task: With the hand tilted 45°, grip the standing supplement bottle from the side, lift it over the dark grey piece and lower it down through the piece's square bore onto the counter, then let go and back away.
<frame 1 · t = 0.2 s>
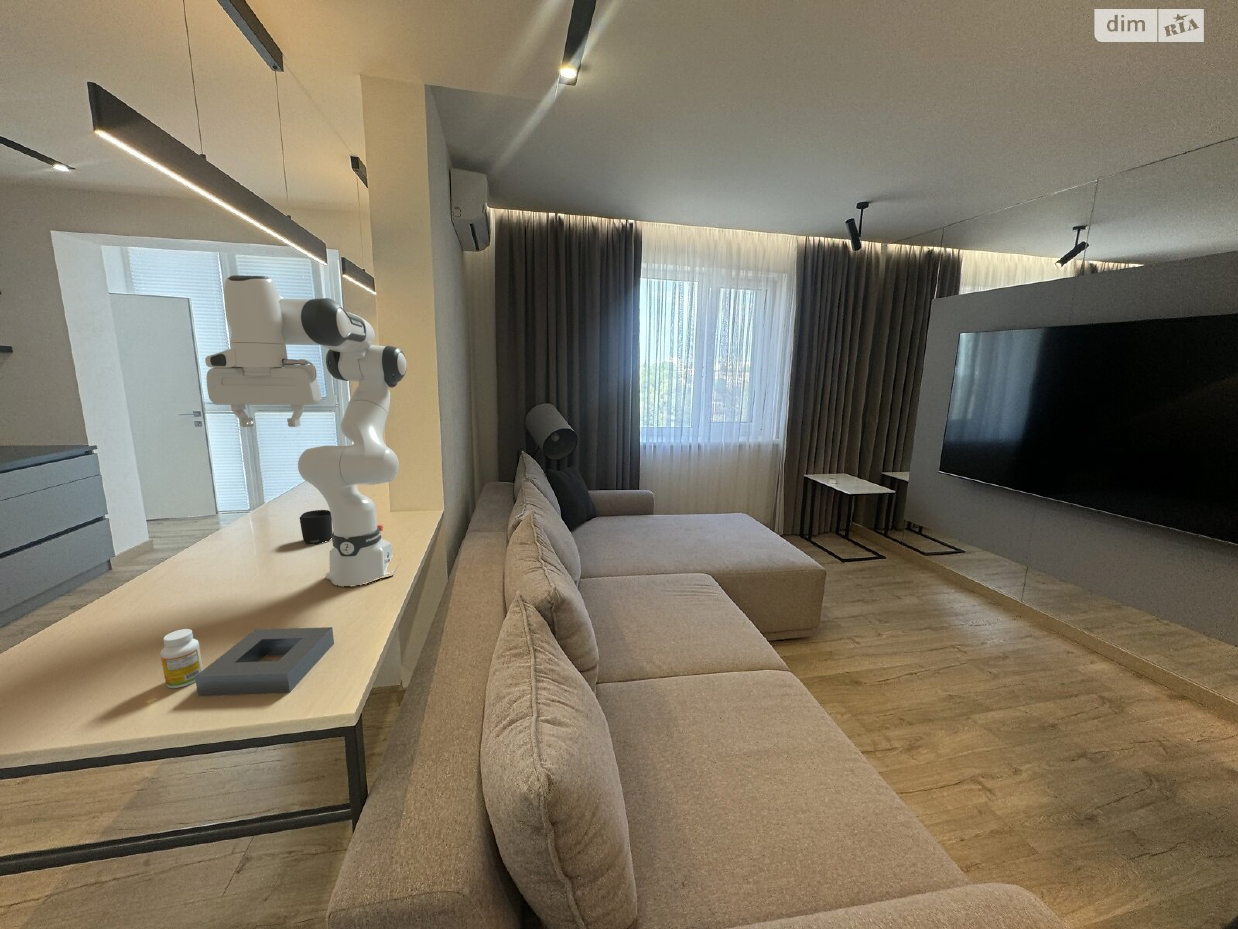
hand: (270, 426, 96), 48 cm above the table, tool pointing down, fingers open, 8 cm apart
supplement bottle: (185, 680, 89), on the table
dark grey piece: (272, 667, 93), on the table
pen holder: (318, 541, 163), on the table
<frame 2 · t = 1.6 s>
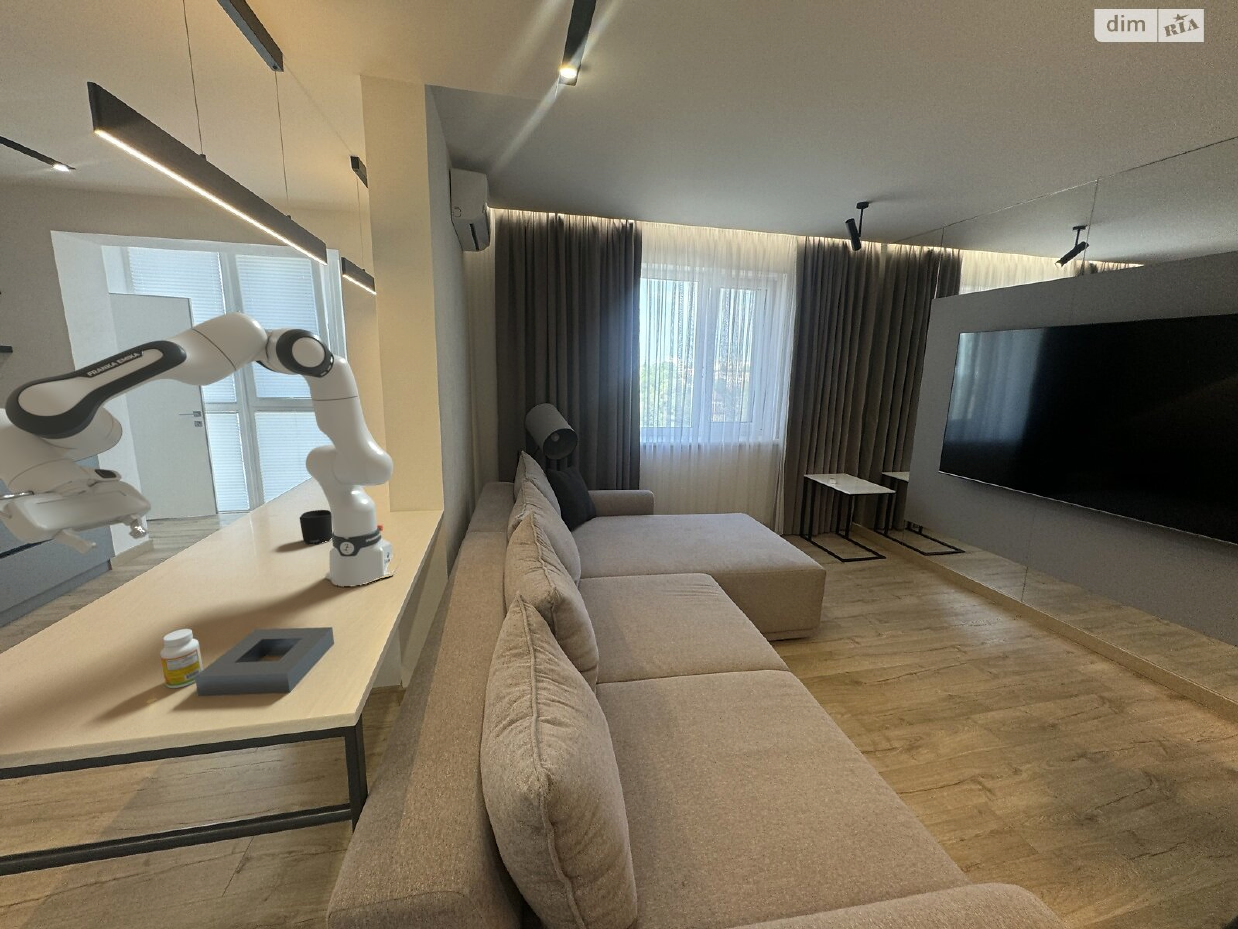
hand: (118, 542, 84), 28 cm above the table, tool tilted 45°, fingers open, 8 cm apart
nothing on the table moved.
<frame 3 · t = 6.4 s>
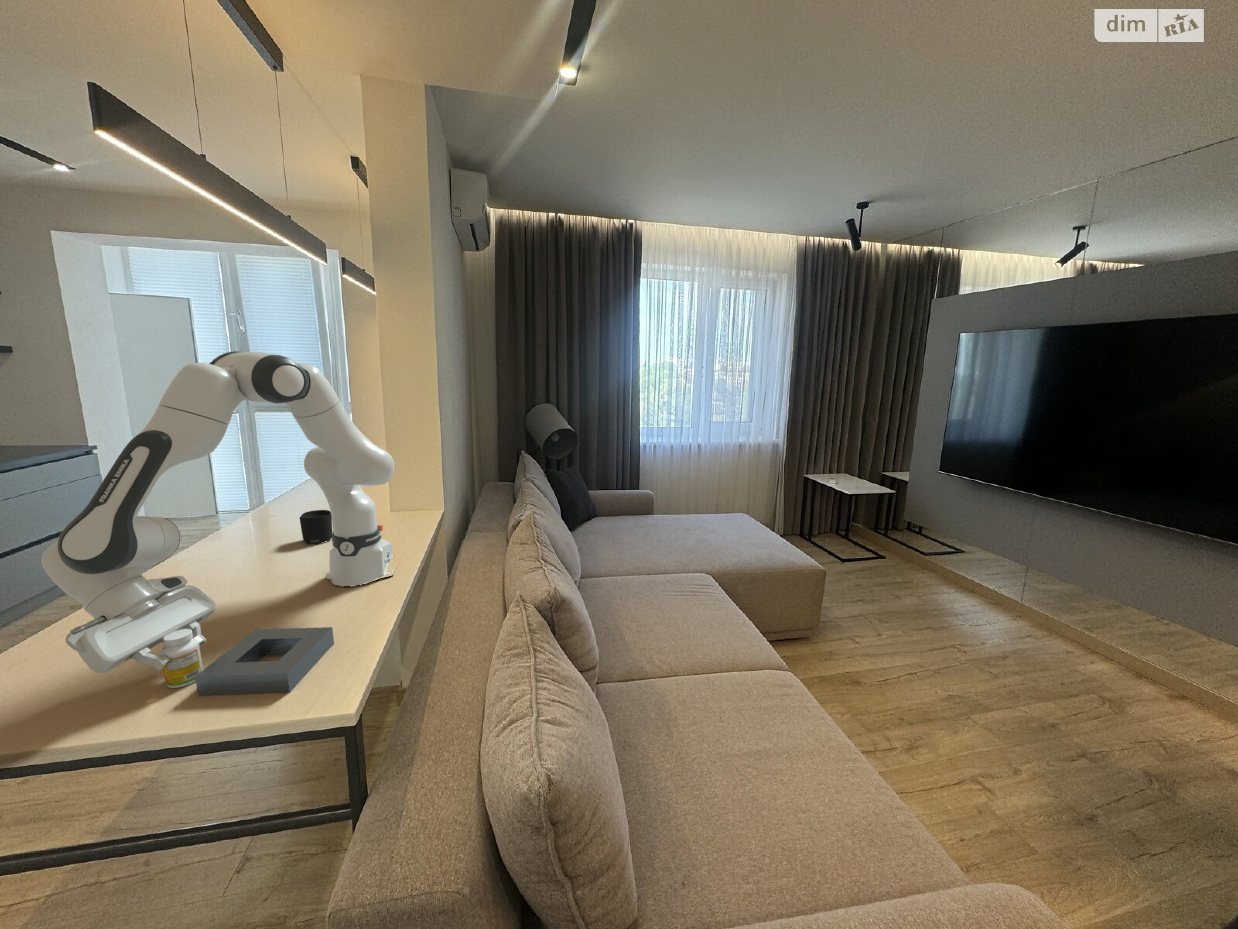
hand: (184, 655, 88), 5 cm above the table, tool tilted 45°, fingers closed on supplement bottle, 5 cm apart
supplement bottle: (185, 680, 89), on the table, touching gripper
everything else where it was.
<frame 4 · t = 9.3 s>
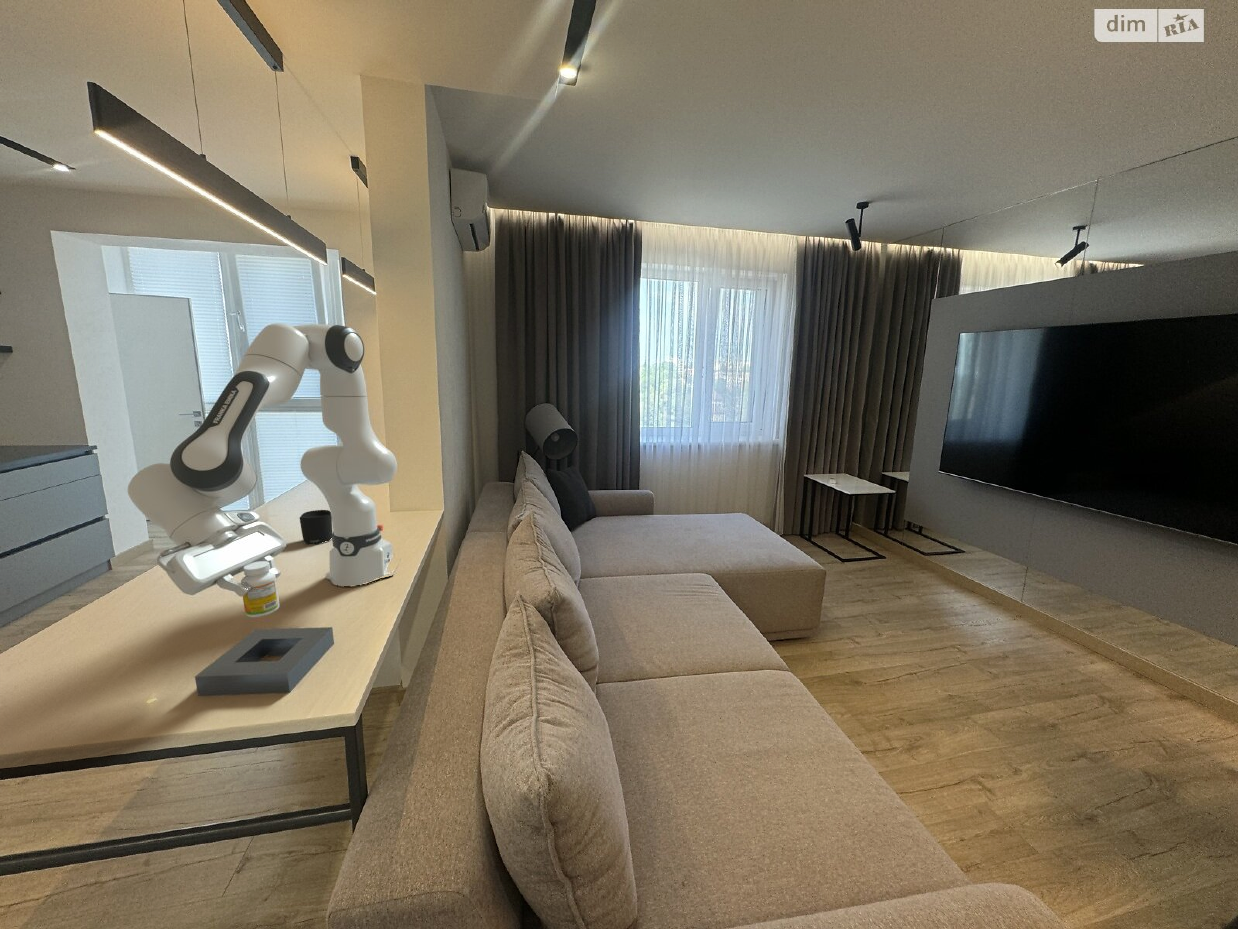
hand: (262, 584, 90), 18 cm above the table, tool tilted 45°, fingers closed on supplement bottle, 5 cm apart
supplement bottle: (263, 611, 91), point 12 cm above the table, touching gripper
everything else where it was.
when the fingers open (7 cm above the table, at t = 12.6 s): supplement bottle drops 1 cm, resting in dark grey piece.
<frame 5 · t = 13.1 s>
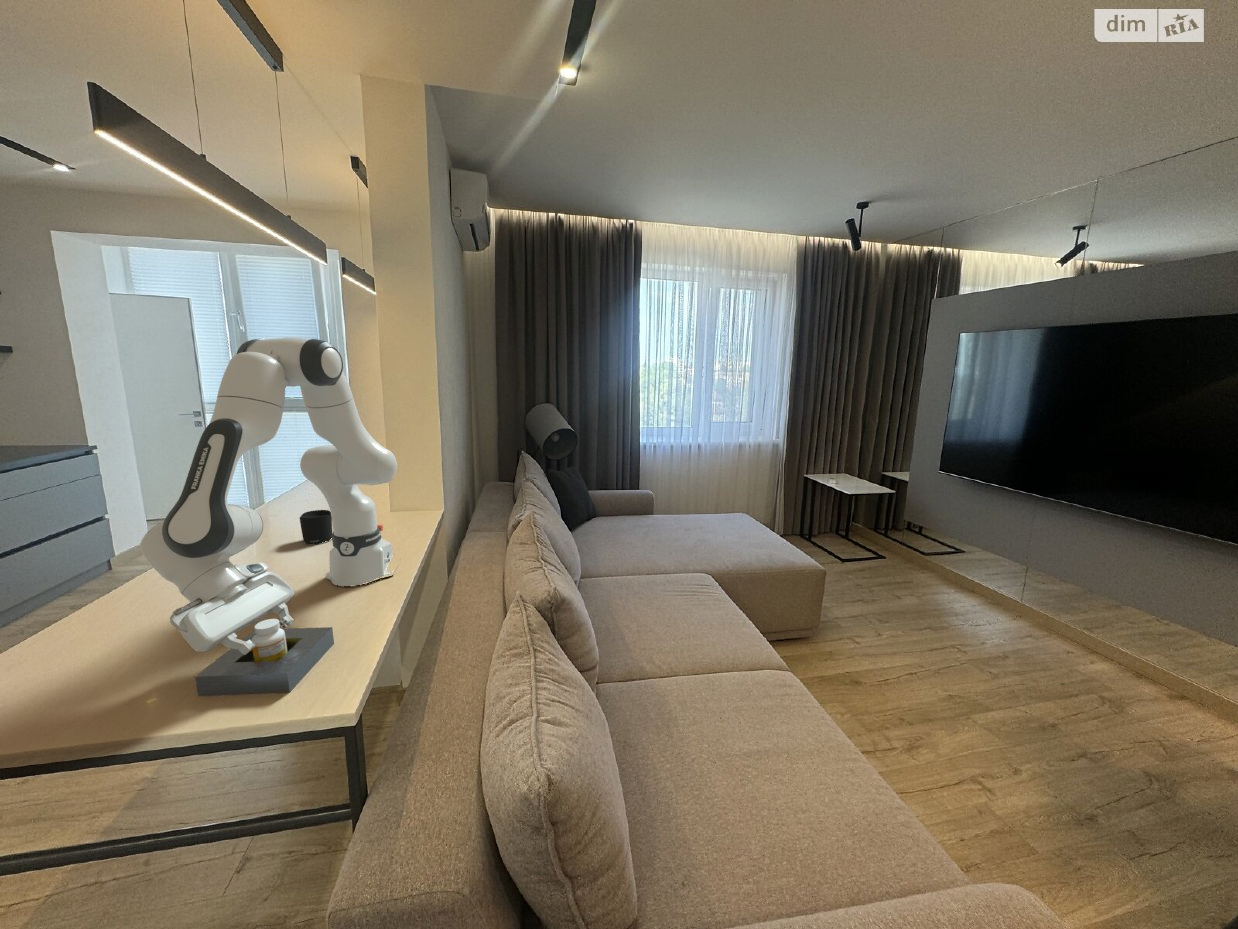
hand: (271, 637, 92), 7 cm above the table, tool tilted 45°, fingers open, 8 cm apart
supplement bottle: (272, 668, 93), resting in dark grey piece
everything else where it was.
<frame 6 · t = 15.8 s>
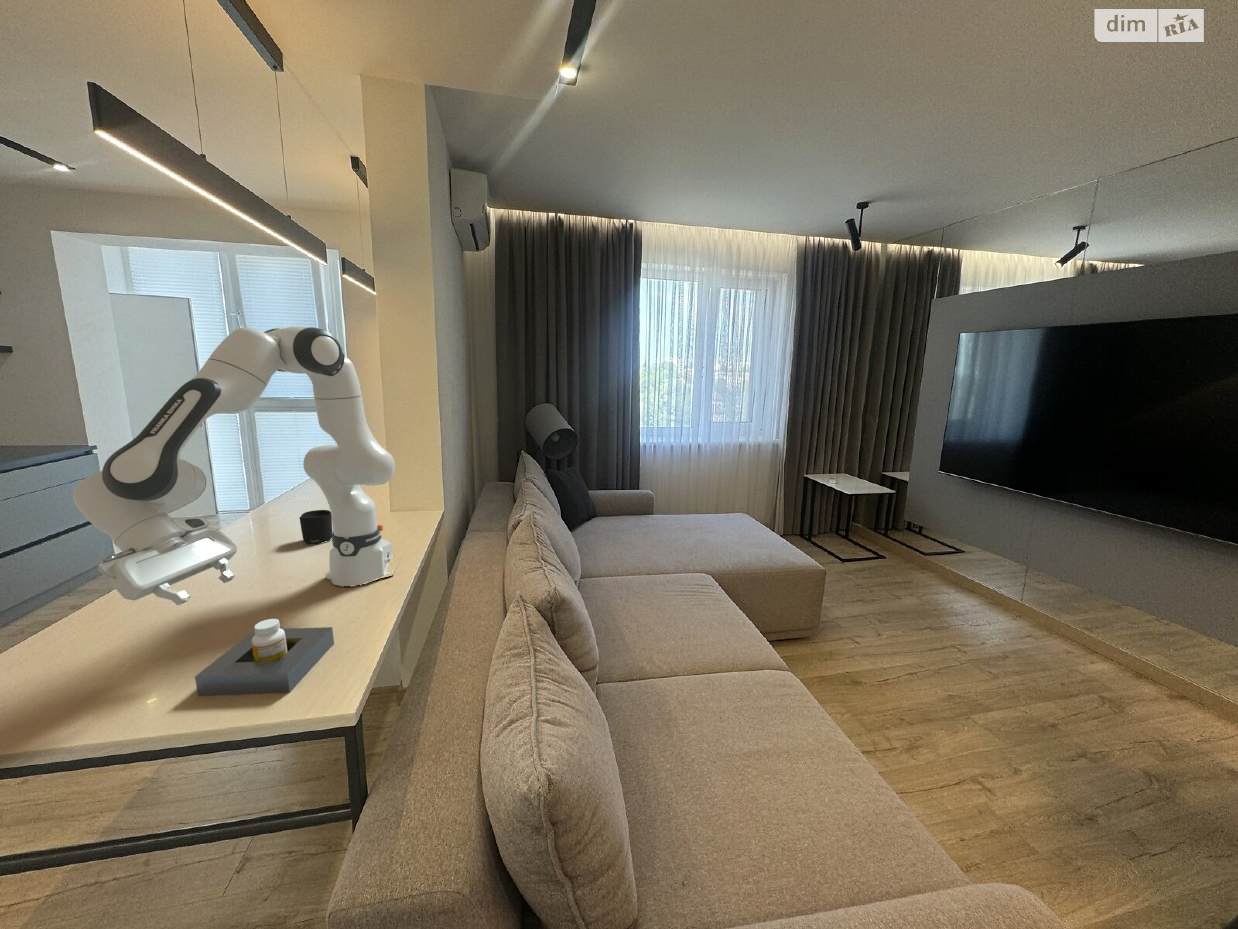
hand: (208, 590, 91), 16 cm above the table, tool tilted 45°, fingers open, 8 cm apart
nothing on the table moved.
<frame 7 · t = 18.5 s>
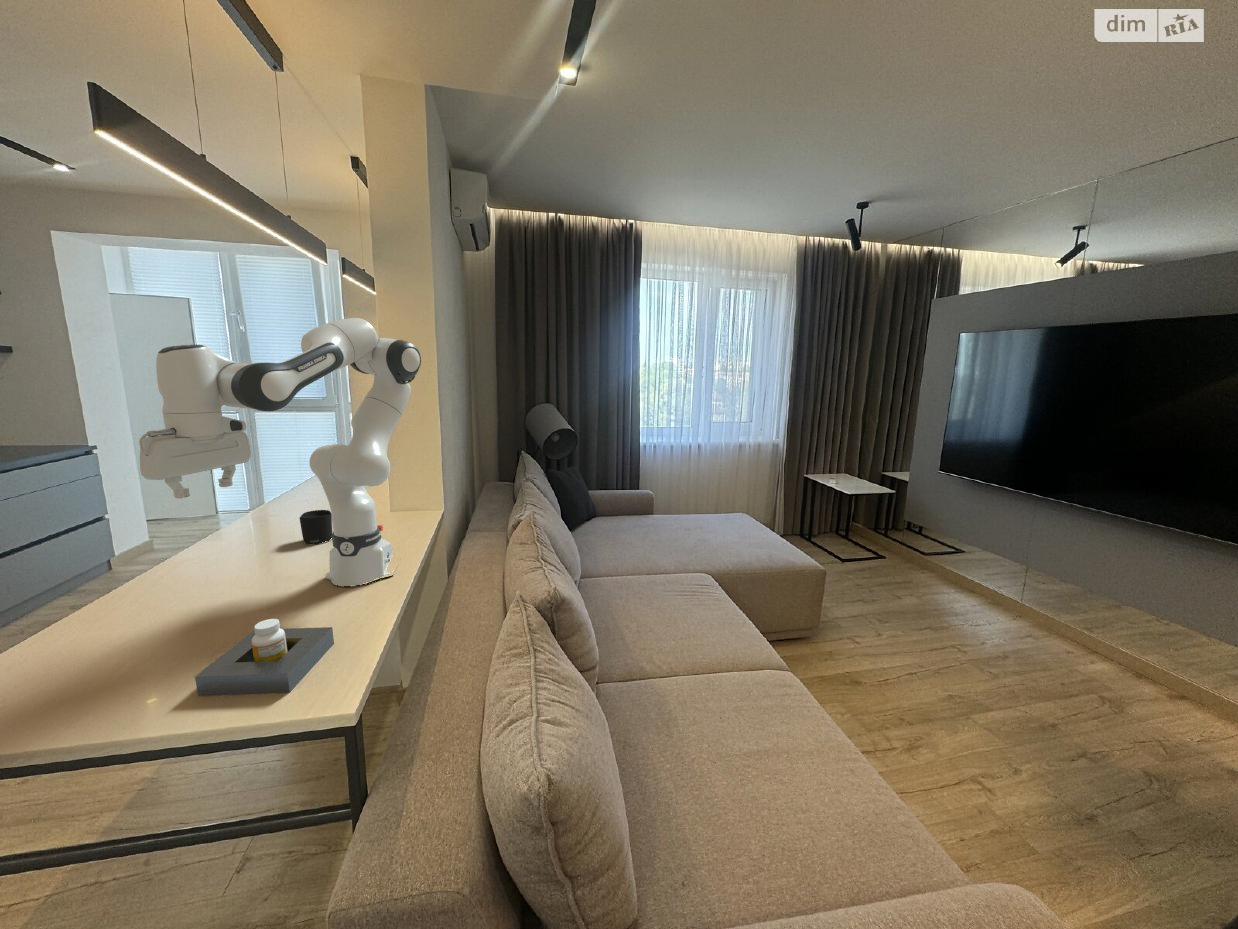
hand: (205, 491, 96), 34 cm above the table, tool pointing down, fingers open, 8 cm apart
nothing on the table moved.
at the end: supplement bottle 0.1 cm off-centre on the dark grey piece, point 0.0 cm above the dark grey piece's base; supplement bottle tilted 0°; the gripper is holding nothing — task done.
